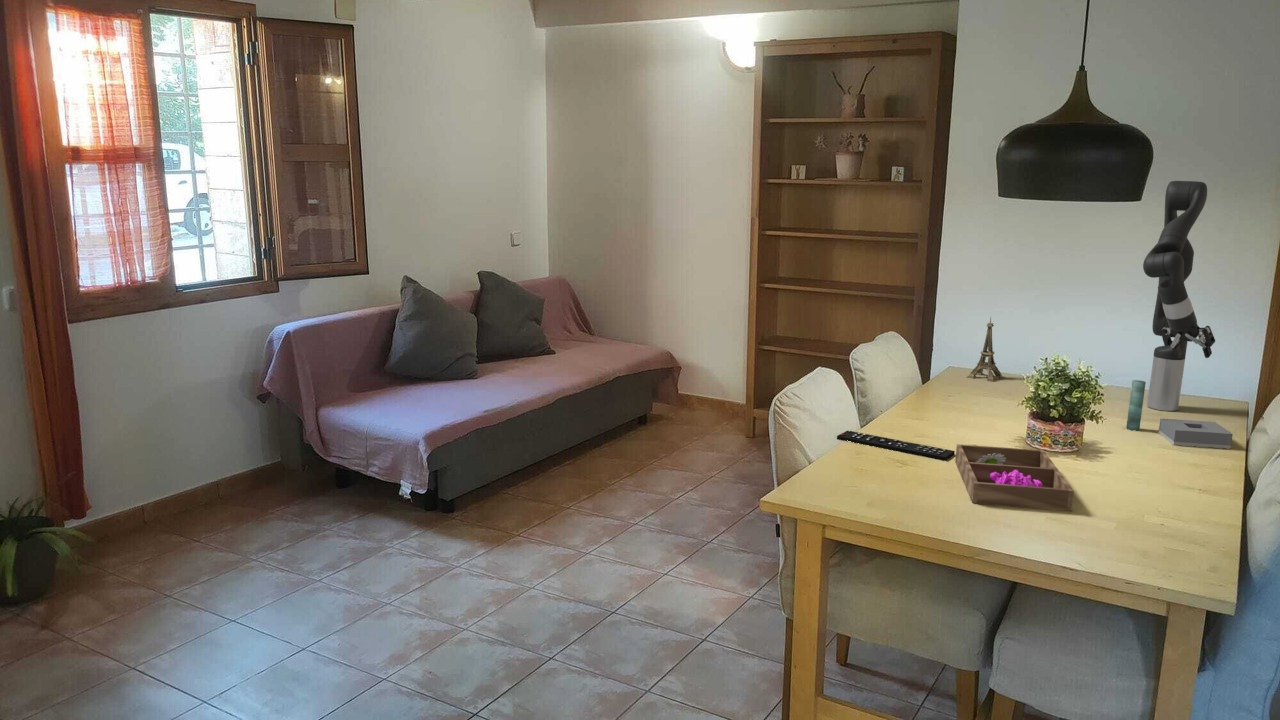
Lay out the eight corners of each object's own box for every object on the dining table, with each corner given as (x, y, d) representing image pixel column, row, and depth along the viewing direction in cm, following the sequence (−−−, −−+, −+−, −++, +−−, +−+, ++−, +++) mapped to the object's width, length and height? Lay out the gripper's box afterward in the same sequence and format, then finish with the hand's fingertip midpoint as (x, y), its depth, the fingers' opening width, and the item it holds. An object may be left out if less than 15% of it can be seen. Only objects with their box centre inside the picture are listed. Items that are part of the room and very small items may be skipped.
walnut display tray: (955, 461, 252) (956, 444, 251) (1041, 468, 248) (1043, 450, 247) (972, 503, 222) (974, 483, 221) (1071, 511, 217) (1073, 490, 216)
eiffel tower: (966, 377, 354) (972, 312, 349) (976, 373, 362) (982, 309, 357) (994, 382, 347) (1000, 315, 342) (1004, 377, 355) (1010, 312, 350)
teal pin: (1124, 427, 289) (1130, 379, 286) (1137, 427, 289) (1143, 380, 286) (1128, 430, 286) (1134, 382, 283) (1140, 431, 285) (1147, 383, 282)
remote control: (846, 435, 278) (847, 428, 277) (954, 456, 259) (954, 449, 259) (835, 440, 272) (836, 434, 271) (944, 462, 253) (945, 455, 253)
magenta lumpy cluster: (986, 499, 225) (989, 473, 223) (988, 487, 233) (991, 461, 232) (1040, 508, 220) (1043, 481, 219) (1040, 495, 229) (1044, 469, 227)
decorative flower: (1038, 456, 235) (977, 445, 243) (1032, 477, 232) (971, 465, 241) (1041, 472, 241) (981, 461, 249) (1035, 493, 238) (975, 481, 246)
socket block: (1158, 432, 284) (1160, 418, 283) (1212, 436, 281) (1214, 421, 280) (1173, 445, 271) (1175, 430, 270) (1230, 449, 268) (1232, 433, 268)
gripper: (1209, 304, 279) (1223, 350, 284) (1161, 305, 292) (1176, 349, 296) (1197, 317, 276) (1212, 363, 281) (1149, 318, 288) (1164, 362, 293)
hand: (1193, 356), depth 289 cm, fingers open, 8 cm apart
